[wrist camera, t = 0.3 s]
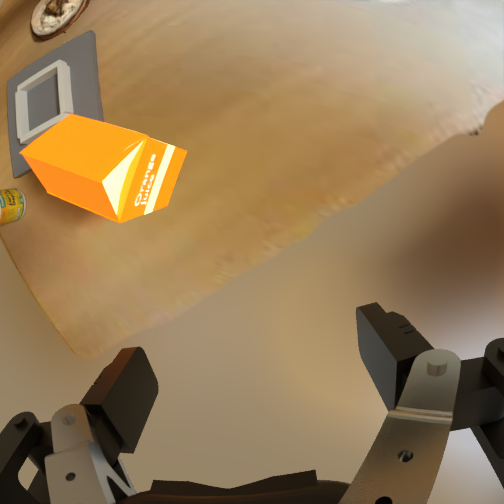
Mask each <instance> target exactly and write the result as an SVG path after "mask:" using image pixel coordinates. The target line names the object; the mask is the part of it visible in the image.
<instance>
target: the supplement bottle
mask: <svg viewBox="0 0 504 504" xmlns="http://www.w3.org/2000/svg"><path fill="white" fill-rule="evenodd" d="M25 209H26V201H25V197H24V194H23V193H22V191H20V190H19V189H7V190H0V225H3V224H6V223H10V222H13V221H17V220H19V219H21V218H22V217H23V215H24V213H25Z"/></svg>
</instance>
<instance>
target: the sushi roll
mask: <svg viewBox="0 0 504 504" xmlns="http://www.w3.org/2000/svg"><path fill="white" fill-rule="evenodd" d="M88 4H89V0H41V1H40V2H39V3H38V4H37V5H36V7H35V9H34V11H33V14H32V17H31V27H32V31H33V34H34V35H35V36H36V39H37V38H39V39H50V38H52V37H54V36H57V35H59V34H60V33H62V32H63V31H64V32H65V30H66V29H68V28H69V27H70V26H71V25H72V24H73V23H74V22H75V21H76V20H77V19H78V18H79V16H80V15H81V14H82V13H83V12H84V11H85V9H86V8H87V7H88ZM65 33H66V32H65Z"/></svg>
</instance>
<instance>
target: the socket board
mask: <svg viewBox="0 0 504 504" xmlns="http://www.w3.org/2000/svg"><path fill="white" fill-rule="evenodd" d="M7 105H8V128H9V141H10V151H11V160H12V167H13V174H14V178H19V177H22V176H23V175H25V174H27V173H29V172H31V171H33V170H32V168H31V167H30V165H29V164H28V162H27V161H26V159H25V158H24V156H23V155H22V154H20V152H21V151H22V150H23V149H25V148H26V147H27V146H28V145H30V144H31V143H32V142H33V141H35V140H36V139H37V138H39V137H40V136H41V135H42V134H44V133H45V132H46V131H48V130H49V129H50V128H52V127H53V126H55V125H56V124H57V123H59V122H60V121H62V120H63V119H65V118H66V117H67V116H69V115H70V114H74V115H78V116H81V117H85V118H89V119H93V120H96V121H100V122H104V117H103V110H102V103H101V95H100V87H99V77H98V67H97V55H96V39H95V33H94V32H93V31H91V30H90V31H88V32H86V33H84V34H82V35H80V36H78V37H76V38H74V39H72V40H70V41H69V42H67V43H65V44H63V45H61V46H60V47H58V48H56V49H55V50H53V51H51V52H50V53H48V54H46V55H45V56H43V57H42V58H40V59H38V60H37V61H35V62H34V63H32V64H31V65H29V66H28V67H26V68H25V69H23V70H22V71H21V72H19V73H18V74H16V75H15V76H14V77H12V78H11V79H9V80H8V81H7Z"/></svg>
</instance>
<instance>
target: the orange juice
mask: <svg viewBox="0 0 504 504" xmlns="http://www.w3.org/2000/svg"><path fill="white" fill-rule="evenodd" d="M186 153H187V151H185V150H182V149H180V148H177V147H175V146H172V145H169V144H166V143H163V142H160V141H157V140H154V139H151V138H148V136H147V135H144V134H141V133H138V132H136V131H135V132H134V131H132V130H128V129H124V128H121V127H119V126H114V125H111V124H107V123H104V122H100V121H96V120H93V119H89V118H85V117H81V116H78V115H74V114H70V115H69V116H67V117H66V118H65V119H63V120H62V121H60V122H59V123H57V124H56V125H55V126H53V127H52V128H50V129H49V130H48V131H46V132H45V133H44V134H42V135H41V136H40V137H39V138H37V139H36V140H35V141H33V142H32V143H31V144H30V145H28V146H27V147H26V148H25V149H23V150H22V151H21V152H20V154H22V155H23V156H24V158H25V159H26V161H27V162H28V164H29V165H30V167H31V168H32V170H33V171H34V173H35V174H36V176H37V177H38V179H39V180H40V182H41V183H42V184H43V186H44V187H45V189H46V190H47V193H49V194H51V195H54V196H56V197H58V198H61V199H63V200H65V201H68V202H70V203H72V204H75V205H77V206H79V207H82V208H84V209H87V210H89V211H91V212H94V213H96V214H99V215H101V216H103V217H106V218H108V219H111V220H113V221H115V222H118V223H122V222H124V221H127V220H130V219H132V218H135V217H138V216H140V215H143V214H144V215H145V214H148V213H150V212H152V211H154V210H157V209H160V208H163V207H166V206H167V205H168V202H169V199H170V196H171V193H172V191H173V188H174V185H175V182H176V179H177V177H178V174H179V171H180V169H181V166H182V163H183V161H184V158H185V155H186Z"/></svg>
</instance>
